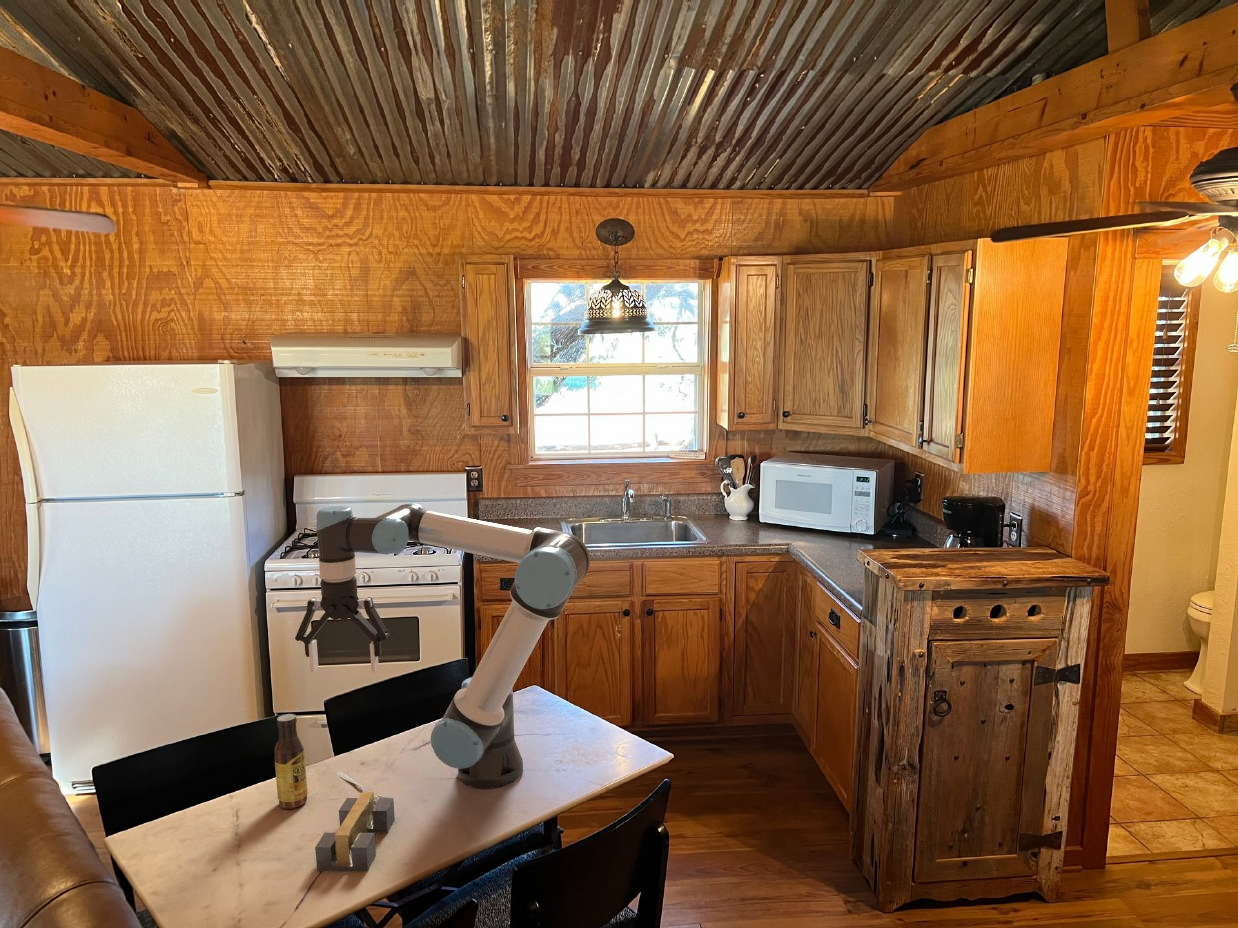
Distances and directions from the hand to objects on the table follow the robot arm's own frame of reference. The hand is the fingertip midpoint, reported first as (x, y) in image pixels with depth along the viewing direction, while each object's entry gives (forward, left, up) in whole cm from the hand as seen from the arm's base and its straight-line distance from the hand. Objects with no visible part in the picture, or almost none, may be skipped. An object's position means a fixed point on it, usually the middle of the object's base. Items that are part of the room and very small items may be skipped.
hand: (344, 670), depth 197 cm
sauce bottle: (+12, +5, -29) cm, 32 cm away
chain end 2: (-8, +28, -29) cm, 41 cm away
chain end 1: (-8, +15, -29) cm, 33 cm away
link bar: (-8, +21, -28) cm, 36 cm away
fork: (0, -2, -29) cm, 29 cm away
